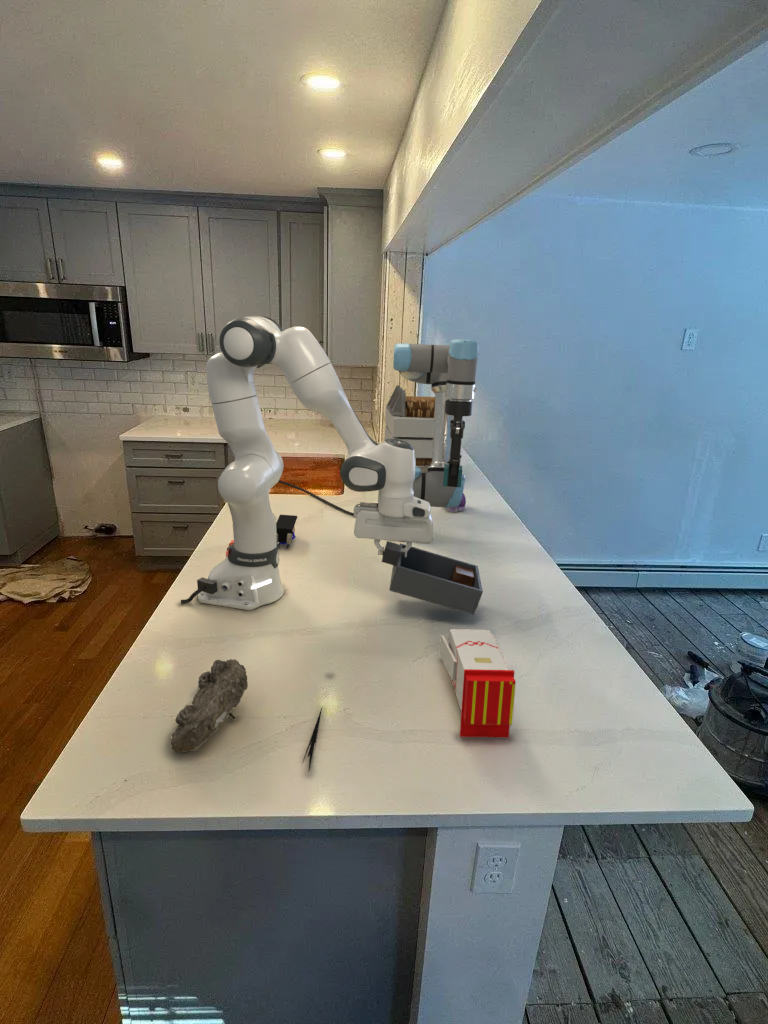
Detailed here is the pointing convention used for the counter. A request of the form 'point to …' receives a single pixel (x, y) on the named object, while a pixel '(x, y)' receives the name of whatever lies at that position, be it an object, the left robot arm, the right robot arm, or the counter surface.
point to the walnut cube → (462, 575)
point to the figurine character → (285, 529)
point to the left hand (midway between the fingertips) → (392, 555)
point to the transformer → (412, 423)
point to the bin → (431, 578)
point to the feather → (313, 740)
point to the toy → (479, 682)
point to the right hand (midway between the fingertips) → (452, 483)
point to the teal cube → (445, 477)
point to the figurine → (460, 506)
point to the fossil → (210, 704)
